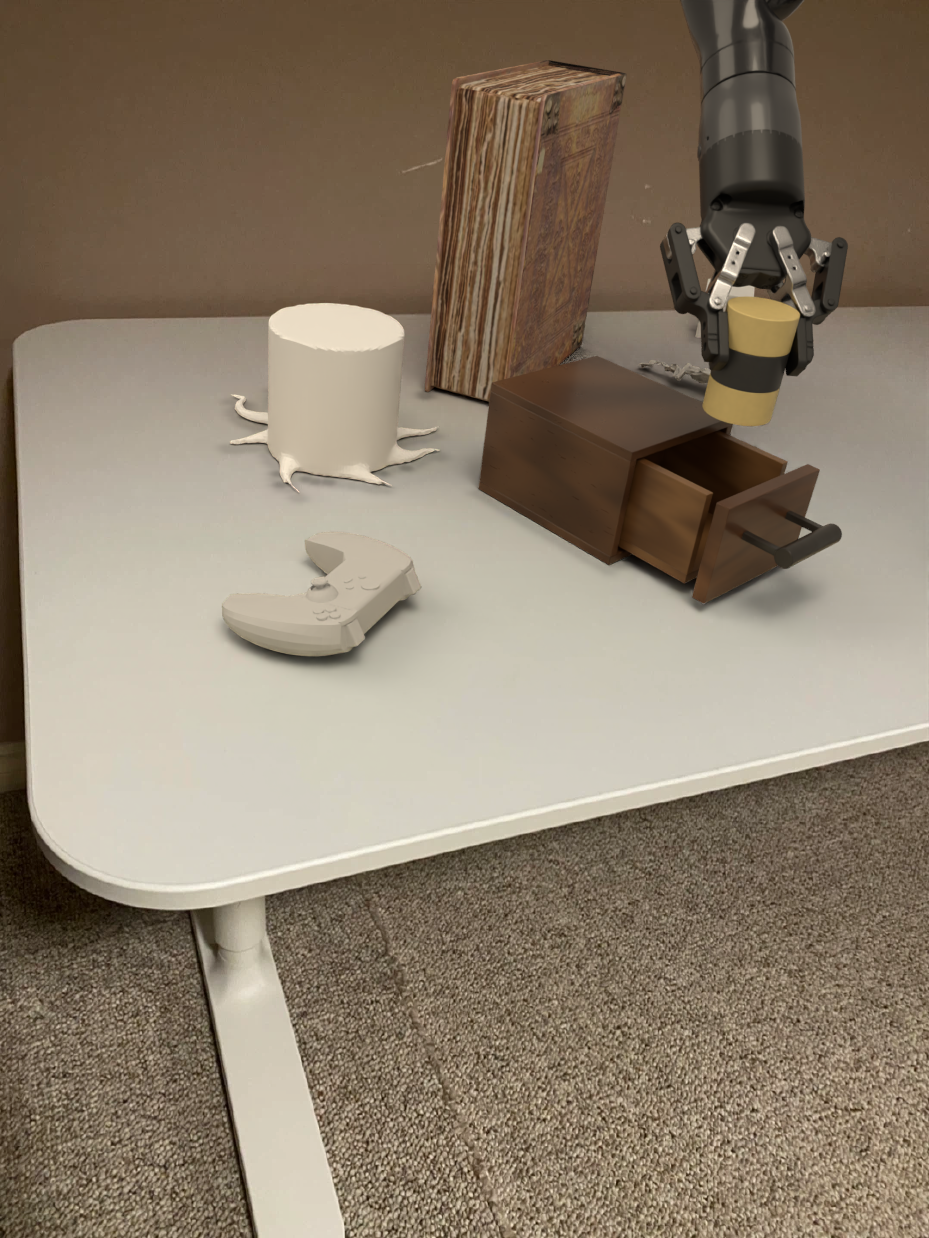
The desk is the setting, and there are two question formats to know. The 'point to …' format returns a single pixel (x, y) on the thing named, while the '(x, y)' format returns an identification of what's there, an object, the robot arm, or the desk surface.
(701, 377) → the grey figurine
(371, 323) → the tree stump
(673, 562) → the drawer
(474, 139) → the book
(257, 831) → the desk surface
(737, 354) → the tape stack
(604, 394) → the cabinet
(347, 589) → the game controller
